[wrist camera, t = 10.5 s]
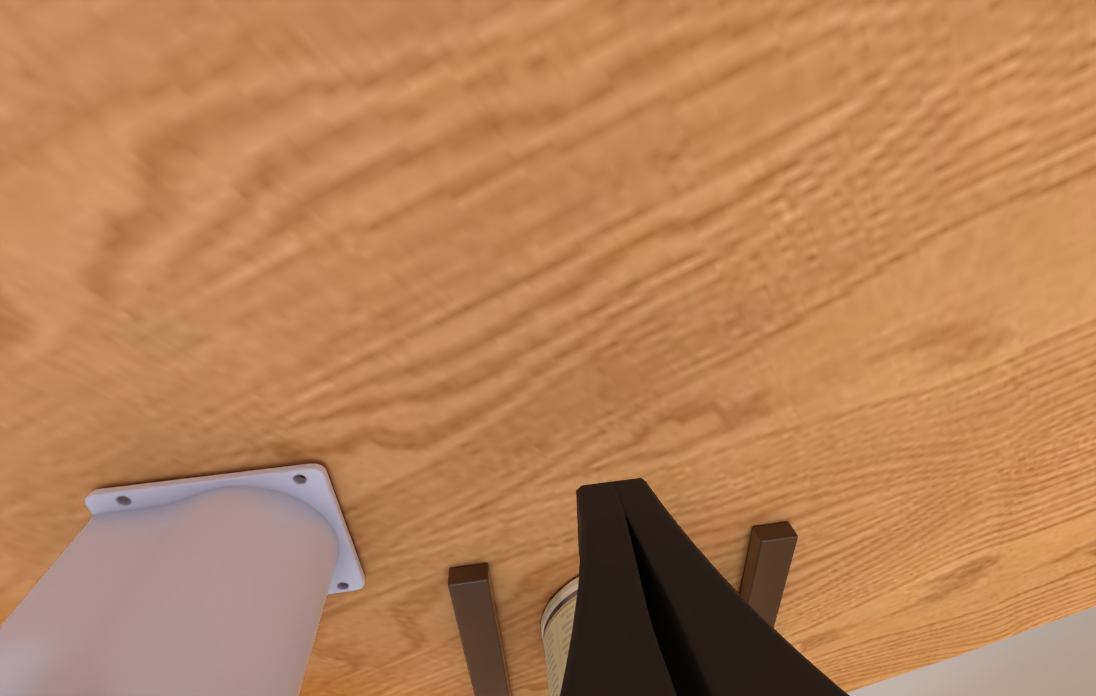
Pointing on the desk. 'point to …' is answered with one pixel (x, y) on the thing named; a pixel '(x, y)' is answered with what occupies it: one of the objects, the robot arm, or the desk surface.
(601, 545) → the robot arm
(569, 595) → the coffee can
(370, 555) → the desk surface
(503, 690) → the walnut frame
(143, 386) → the desk surface
